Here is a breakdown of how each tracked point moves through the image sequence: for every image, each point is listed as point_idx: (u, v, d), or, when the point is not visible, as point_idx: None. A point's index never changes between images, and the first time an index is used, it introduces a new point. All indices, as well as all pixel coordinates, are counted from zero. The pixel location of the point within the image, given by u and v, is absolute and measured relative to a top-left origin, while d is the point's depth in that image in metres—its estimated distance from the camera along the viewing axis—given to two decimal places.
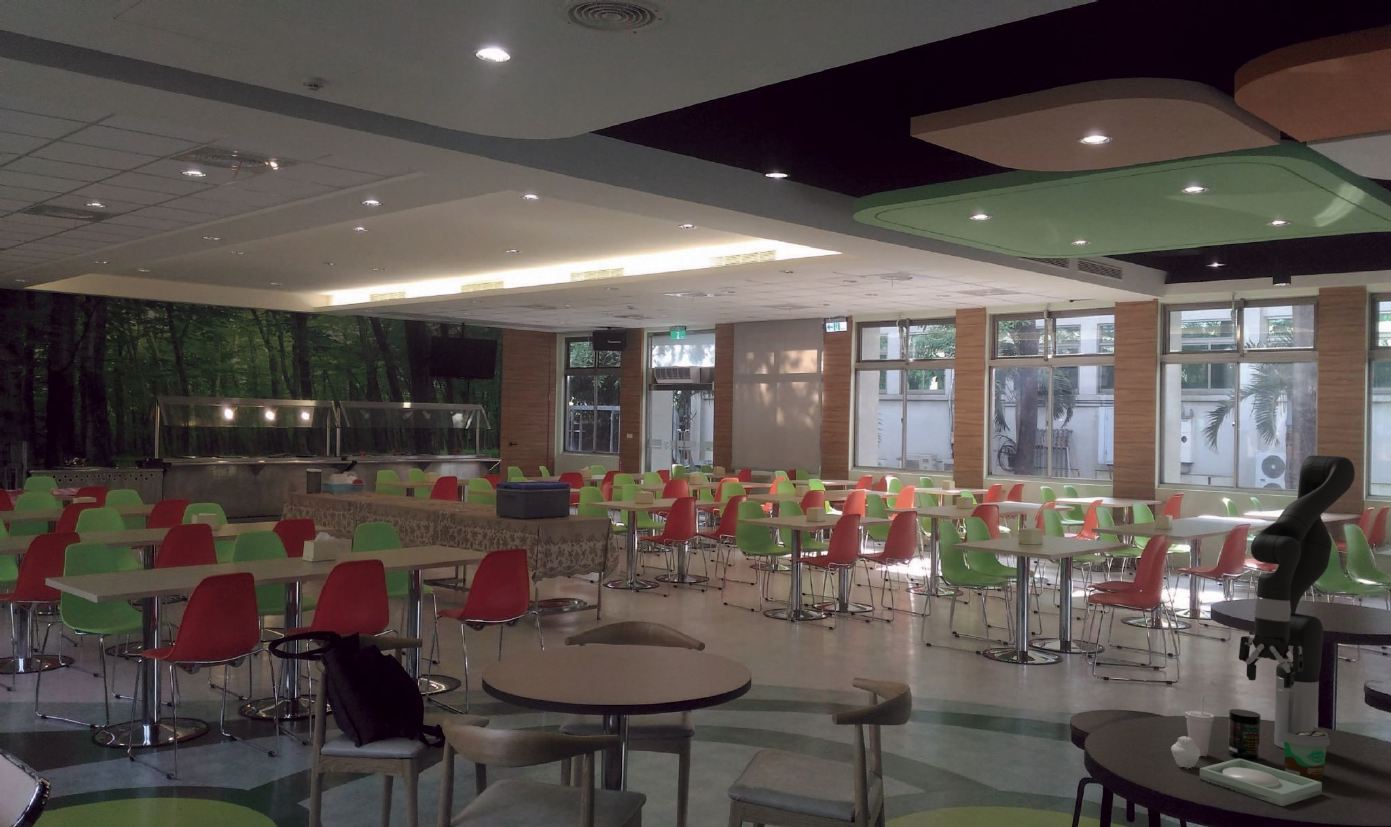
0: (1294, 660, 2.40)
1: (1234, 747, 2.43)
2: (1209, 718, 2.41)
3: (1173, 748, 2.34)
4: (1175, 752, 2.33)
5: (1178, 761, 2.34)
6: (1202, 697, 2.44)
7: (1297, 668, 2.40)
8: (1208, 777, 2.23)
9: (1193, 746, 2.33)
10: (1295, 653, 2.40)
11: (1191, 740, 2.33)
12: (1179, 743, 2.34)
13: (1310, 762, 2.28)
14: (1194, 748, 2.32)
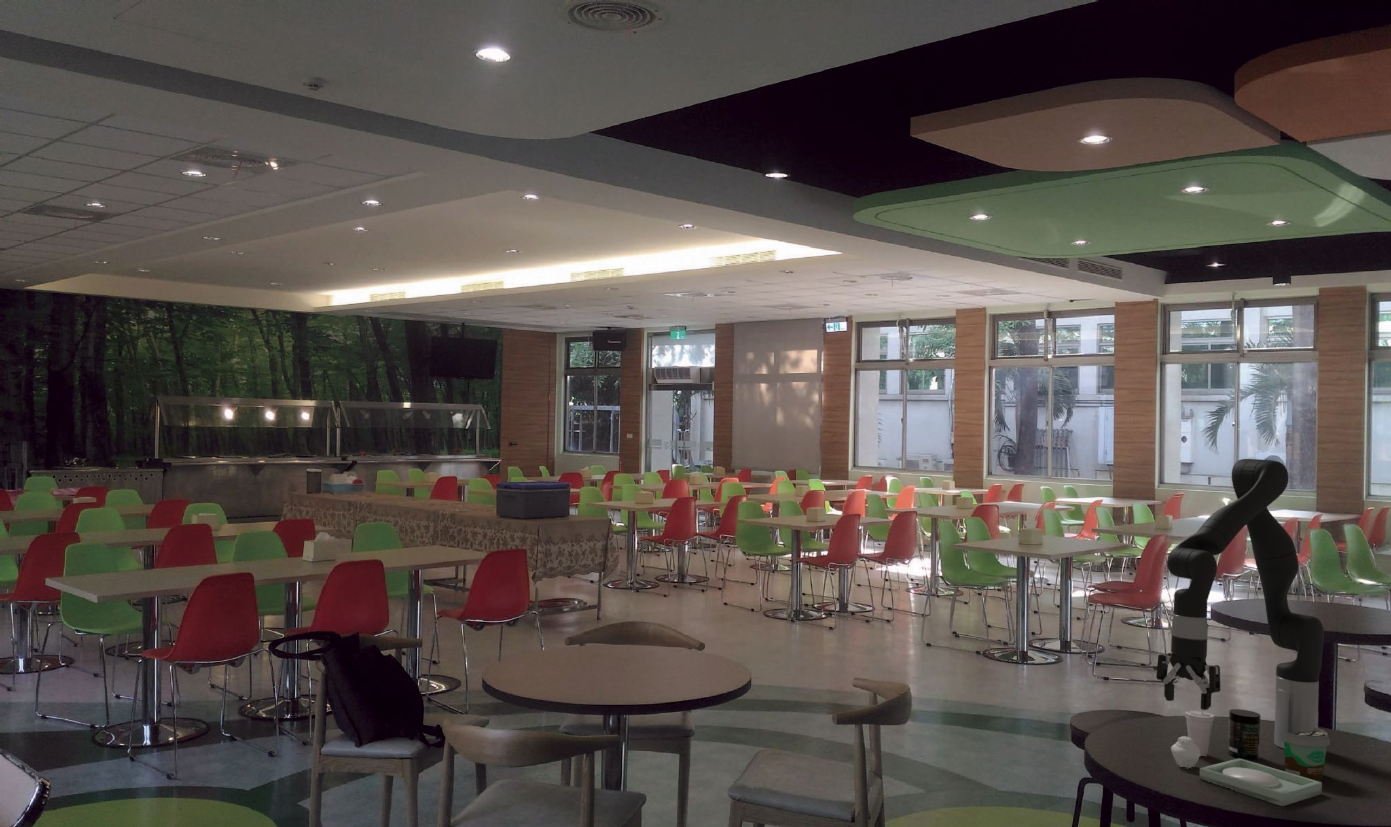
0: (1210, 680, 2.29)
1: (1234, 747, 2.43)
2: (1209, 718, 2.41)
3: (1173, 748, 2.34)
4: (1175, 752, 2.33)
5: (1178, 761, 2.34)
6: None
7: (1213, 689, 2.28)
8: (1208, 777, 2.23)
9: (1193, 746, 2.33)
10: (1211, 673, 2.29)
11: (1191, 740, 2.33)
12: (1179, 743, 2.34)
13: (1310, 762, 2.28)
14: (1194, 748, 2.32)
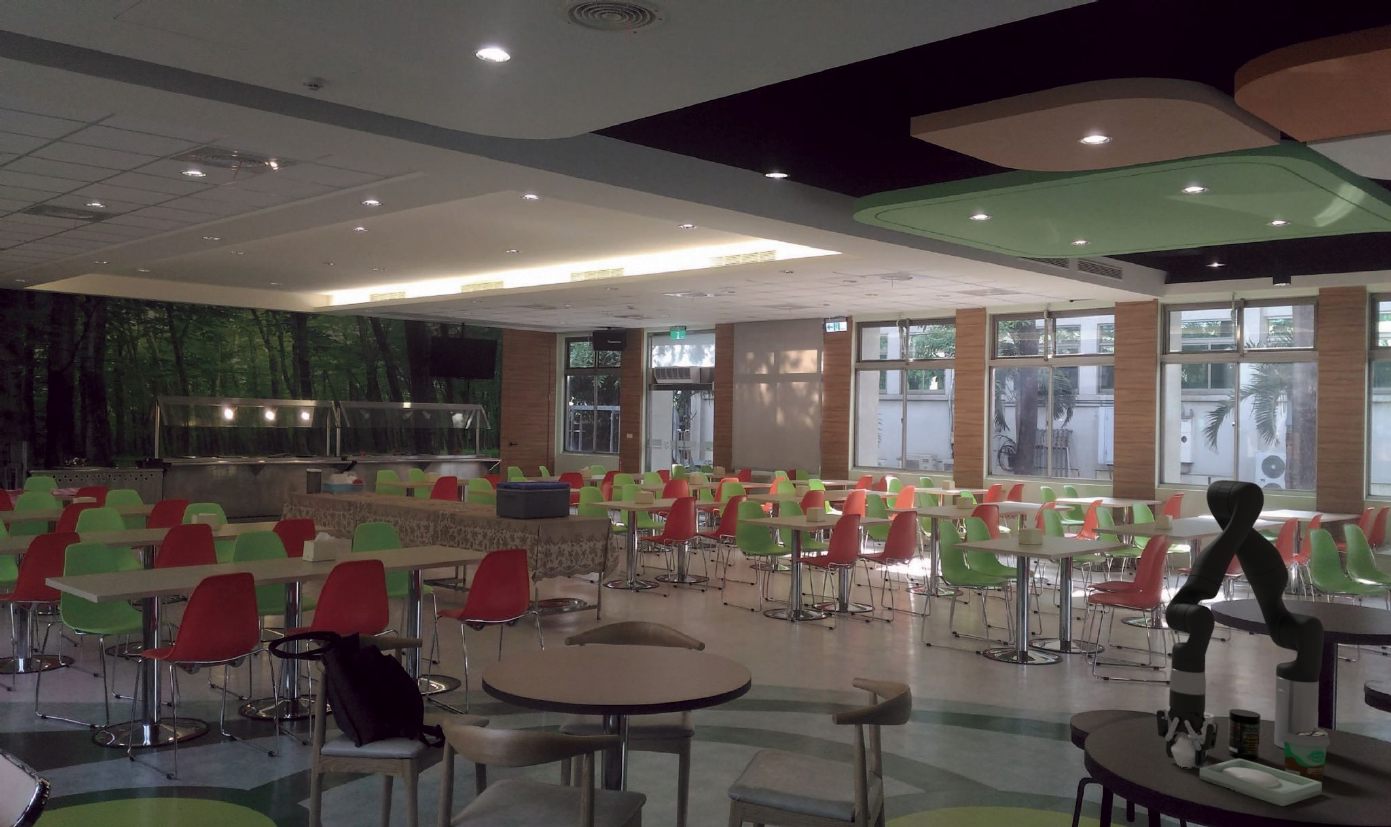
0: (1206, 738, 2.29)
1: (1234, 747, 2.43)
2: (1209, 718, 2.41)
3: (1173, 748, 2.34)
4: (1175, 752, 2.33)
5: (1178, 761, 2.34)
6: None
7: (1208, 747, 2.29)
8: (1208, 777, 2.23)
9: (1193, 746, 2.33)
10: (1208, 731, 2.29)
11: (1191, 740, 2.33)
12: (1179, 743, 2.34)
13: (1310, 762, 2.28)
14: (1194, 748, 2.32)
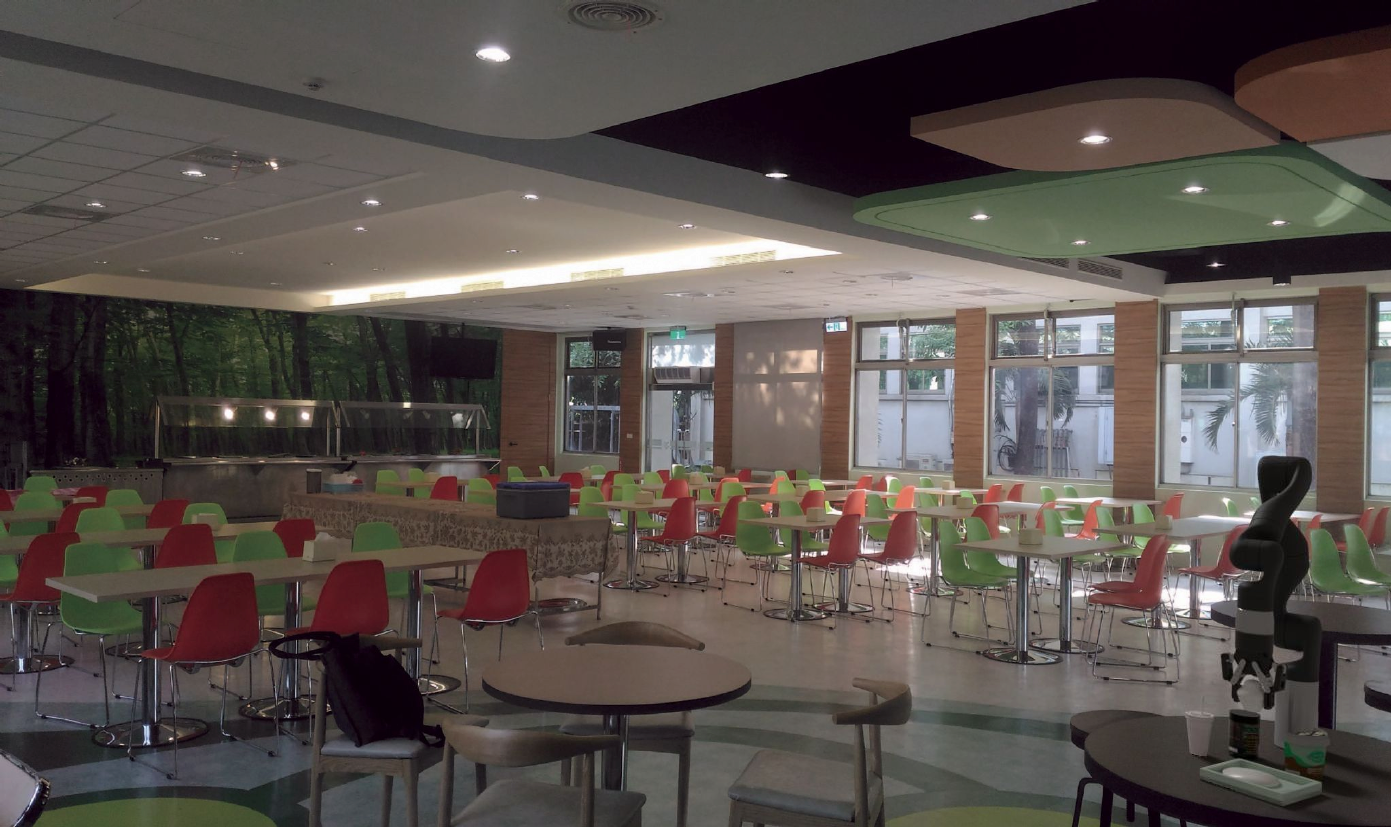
0: (1276, 679, 2.19)
1: (1234, 747, 2.43)
2: (1209, 718, 2.41)
3: (1239, 691, 2.24)
4: (1242, 695, 2.23)
5: (1244, 705, 2.23)
6: (1202, 697, 2.44)
7: (1278, 688, 2.18)
8: (1208, 777, 2.23)
9: (1261, 689, 2.22)
10: (1278, 672, 2.18)
11: (1258, 683, 2.23)
12: (1246, 686, 2.24)
13: (1310, 762, 2.28)
14: (1262, 691, 2.22)
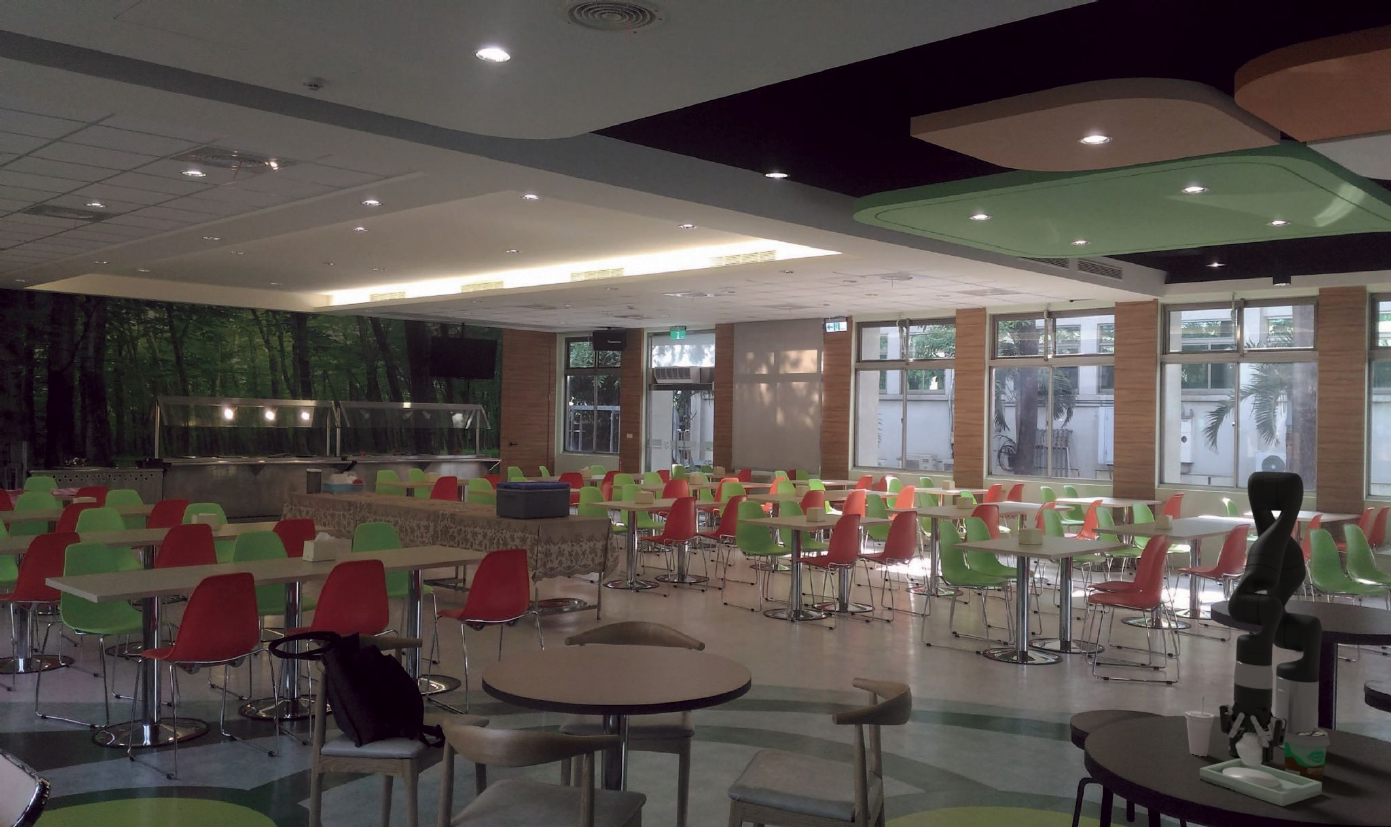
0: (1275, 734, 2.18)
1: None
2: (1209, 718, 2.41)
3: (1238, 745, 2.24)
4: (1240, 749, 2.23)
5: (1243, 759, 2.23)
6: (1202, 697, 2.44)
7: (1276, 743, 2.18)
8: (1208, 777, 2.23)
9: (1259, 743, 2.22)
10: (1277, 727, 2.18)
11: (1257, 736, 2.23)
12: (1244, 740, 2.23)
13: (1310, 762, 2.28)
14: (1261, 745, 2.22)
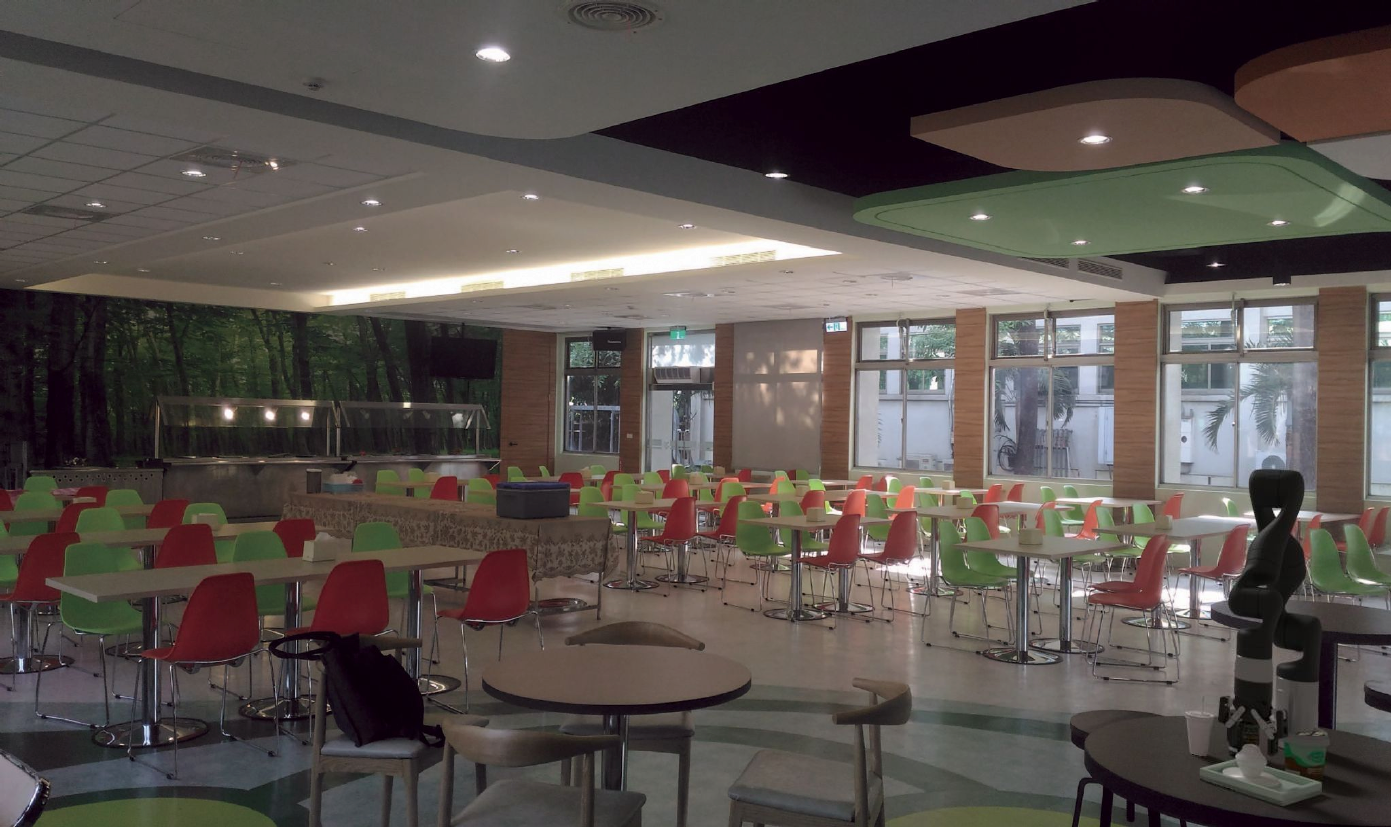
0: (1278, 726, 2.18)
1: (1234, 747, 2.43)
2: (1209, 718, 2.41)
3: (1238, 756, 2.24)
4: (1240, 760, 2.23)
5: (1243, 770, 2.23)
6: (1202, 697, 2.44)
7: (1281, 735, 2.17)
8: (1208, 777, 2.23)
9: (1259, 754, 2.22)
10: (1279, 718, 2.18)
11: (1257, 748, 2.23)
12: (1244, 751, 2.23)
13: (1310, 762, 2.28)
14: (1260, 756, 2.22)
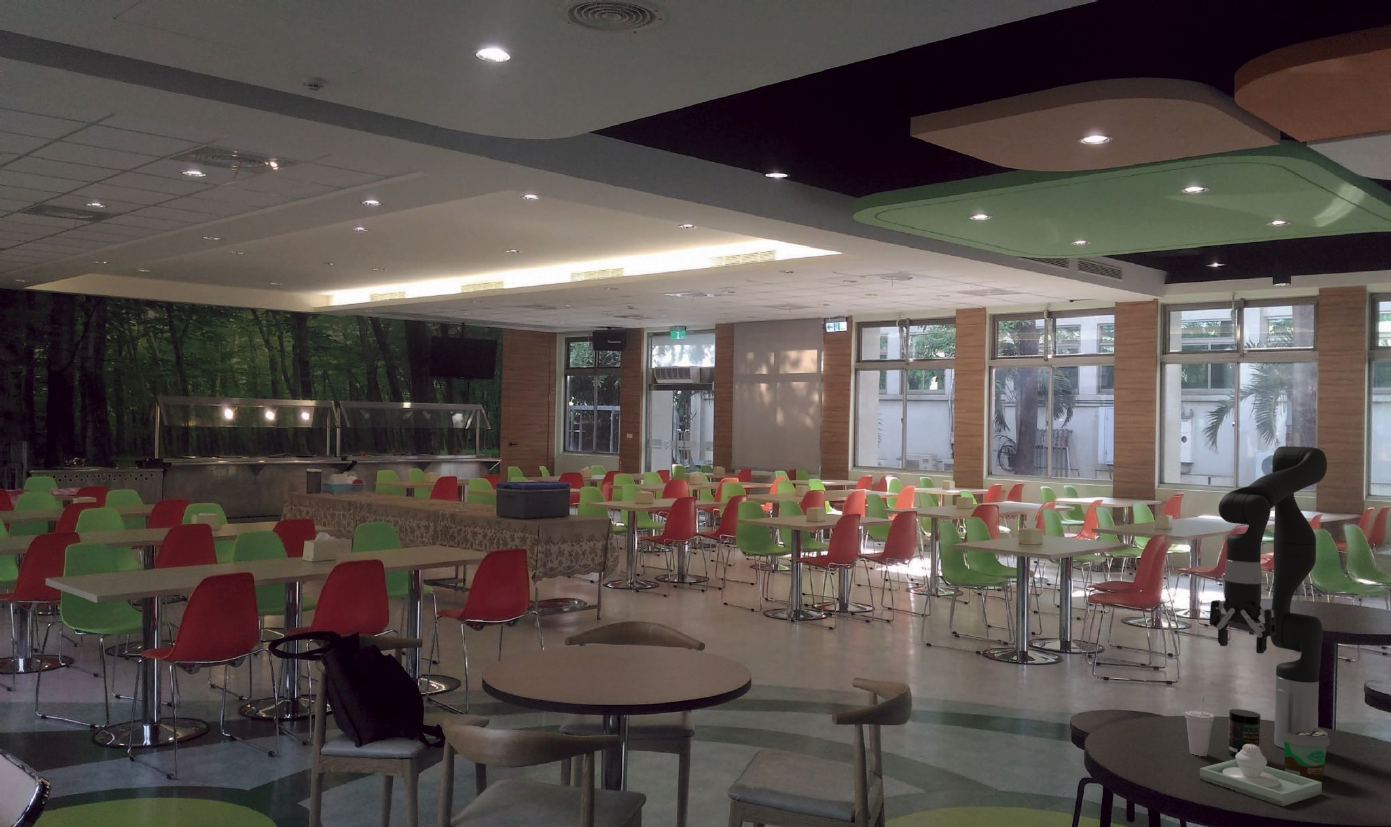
0: (1266, 624, 2.29)
1: (1234, 747, 2.43)
2: (1209, 718, 2.41)
3: (1238, 756, 2.24)
4: (1240, 761, 2.23)
5: (1243, 770, 2.23)
6: (1202, 697, 2.44)
7: (1269, 632, 2.29)
8: (1208, 777, 2.23)
9: (1259, 754, 2.22)
10: (1267, 617, 2.29)
11: (1257, 748, 2.23)
12: (1244, 751, 2.23)
13: (1310, 762, 2.28)
14: (1260, 756, 2.22)
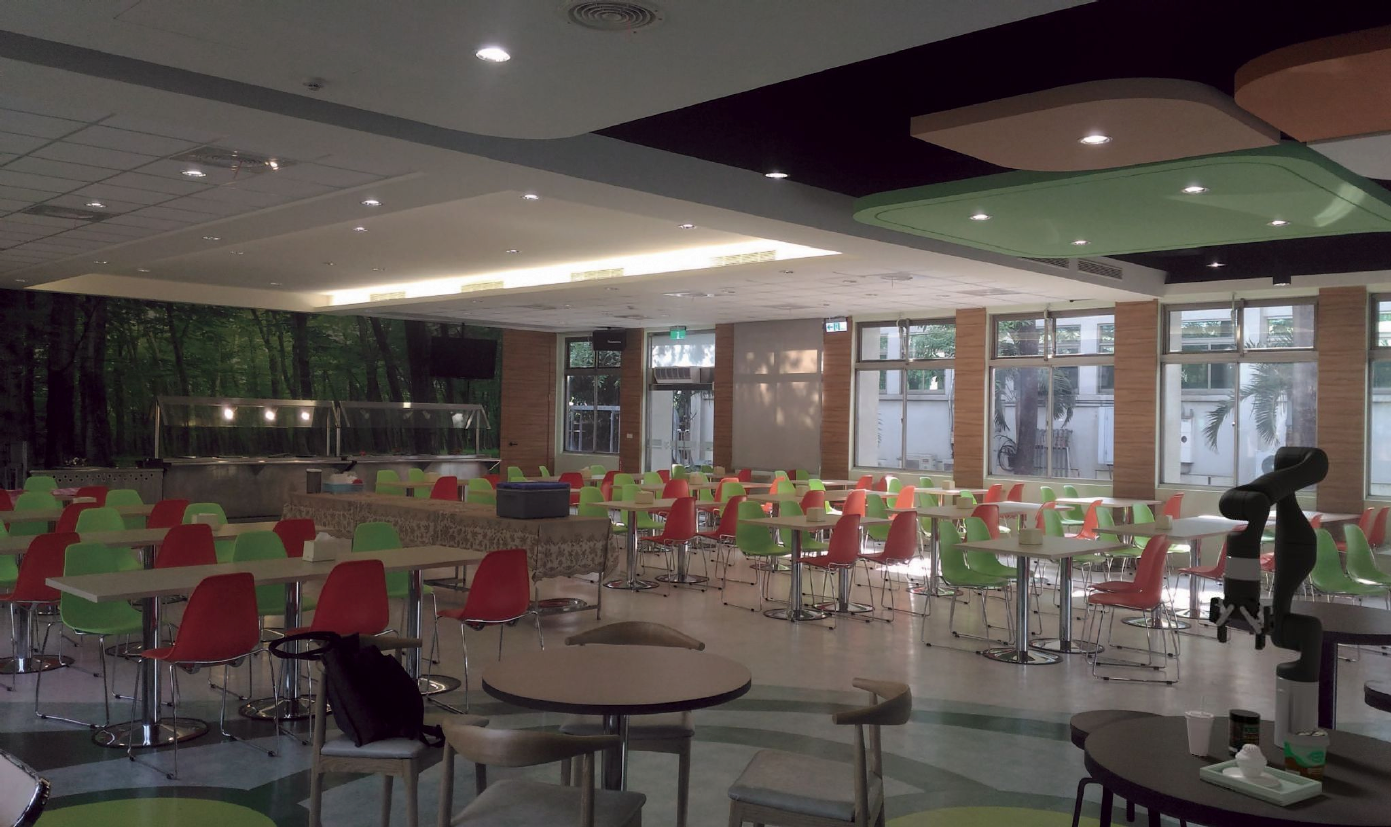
0: (1265, 620, 2.30)
1: (1234, 747, 2.43)
2: (1209, 718, 2.41)
3: (1238, 756, 2.24)
4: (1240, 760, 2.23)
5: (1243, 770, 2.23)
6: (1202, 697, 2.44)
7: (1268, 629, 2.29)
8: (1208, 777, 2.23)
9: (1259, 754, 2.22)
10: (1266, 613, 2.30)
11: (1257, 748, 2.23)
12: (1244, 751, 2.23)
13: (1310, 762, 2.28)
14: (1260, 756, 2.22)
